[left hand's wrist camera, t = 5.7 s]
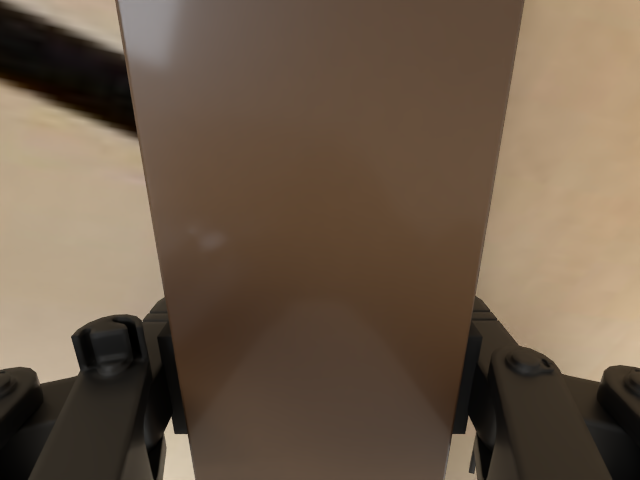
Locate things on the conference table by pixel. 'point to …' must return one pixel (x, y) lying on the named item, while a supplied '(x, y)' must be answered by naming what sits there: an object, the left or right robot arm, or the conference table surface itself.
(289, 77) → the beam
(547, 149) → the conference table surface
